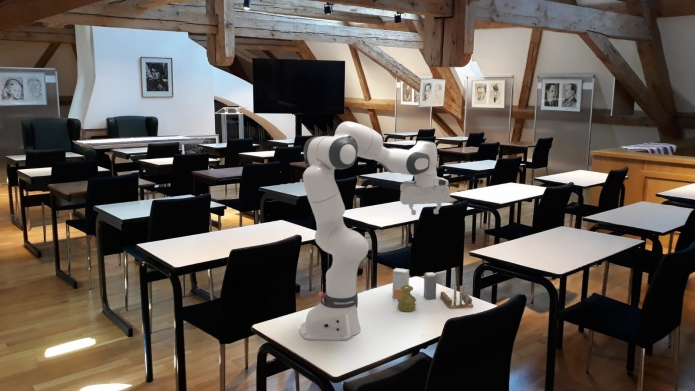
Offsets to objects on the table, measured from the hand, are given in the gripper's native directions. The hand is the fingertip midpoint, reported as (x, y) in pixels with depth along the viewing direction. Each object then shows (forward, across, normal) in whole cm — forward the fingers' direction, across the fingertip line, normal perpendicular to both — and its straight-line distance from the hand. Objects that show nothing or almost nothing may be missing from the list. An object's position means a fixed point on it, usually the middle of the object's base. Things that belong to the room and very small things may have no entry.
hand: (424, 214), depth 231 cm
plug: (+37, +4, +3) cm, 38 cm away
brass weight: (+37, -9, -7) cm, 39 cm away
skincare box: (+37, -8, +6) cm, 39 cm away
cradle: (+37, +13, -4) cm, 40 cm away
